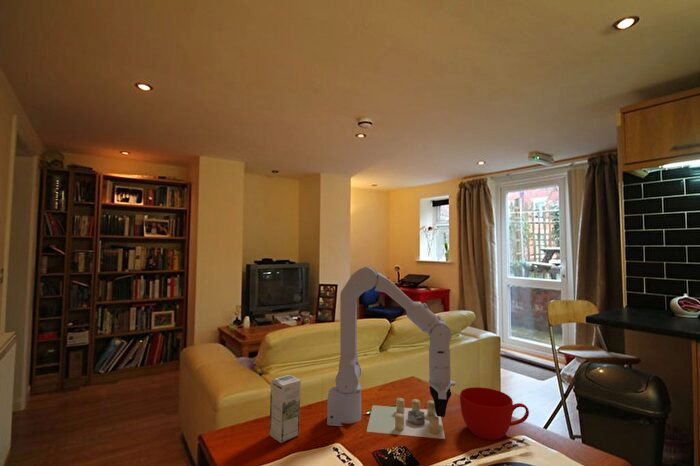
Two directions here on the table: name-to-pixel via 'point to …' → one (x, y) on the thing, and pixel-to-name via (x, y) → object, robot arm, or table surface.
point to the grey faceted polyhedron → (416, 417)
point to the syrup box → (284, 408)
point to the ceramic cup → (488, 412)
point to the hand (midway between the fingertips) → (440, 415)
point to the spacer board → (405, 420)
